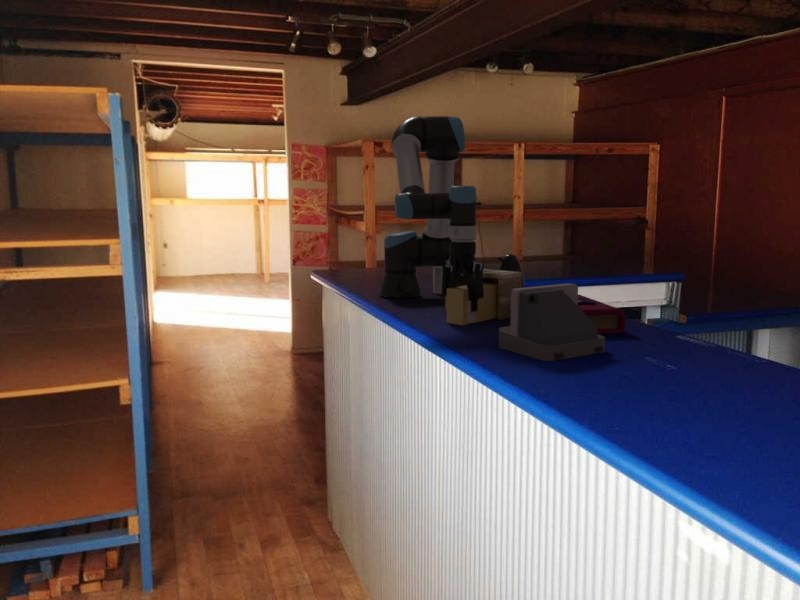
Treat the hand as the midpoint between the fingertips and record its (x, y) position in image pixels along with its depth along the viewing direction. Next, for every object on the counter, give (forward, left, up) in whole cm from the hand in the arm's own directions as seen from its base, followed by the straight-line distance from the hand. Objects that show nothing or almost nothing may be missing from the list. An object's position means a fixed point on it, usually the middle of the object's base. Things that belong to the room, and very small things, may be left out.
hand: (462, 320), depth 198 cm
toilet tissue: (-42, +45, -1) cm, 62 cm away
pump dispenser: (-20, +53, -1) cm, 57 cm away
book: (+24, +17, -1) cm, 30 cm away
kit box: (0, +6, 0) cm, 6 cm away
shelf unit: (-5, +16, 0) cm, 17 cm away
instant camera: (+37, -13, -1) cm, 40 cm away
